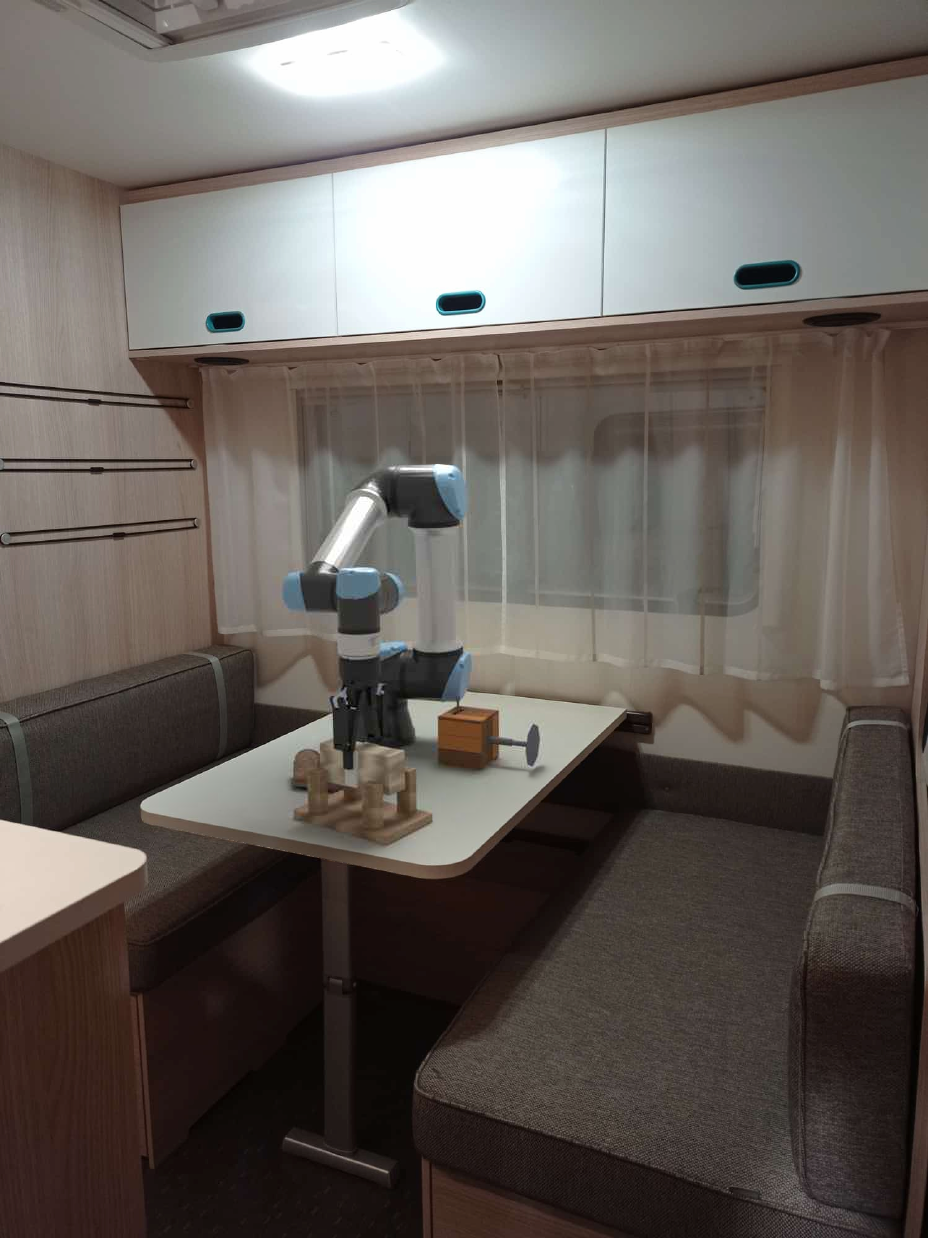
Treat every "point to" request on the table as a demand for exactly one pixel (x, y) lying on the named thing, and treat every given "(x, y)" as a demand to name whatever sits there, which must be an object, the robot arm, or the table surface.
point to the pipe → (307, 761)
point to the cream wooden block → (367, 765)
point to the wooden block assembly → (363, 808)
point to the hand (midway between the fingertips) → (361, 781)
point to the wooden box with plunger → (477, 738)
